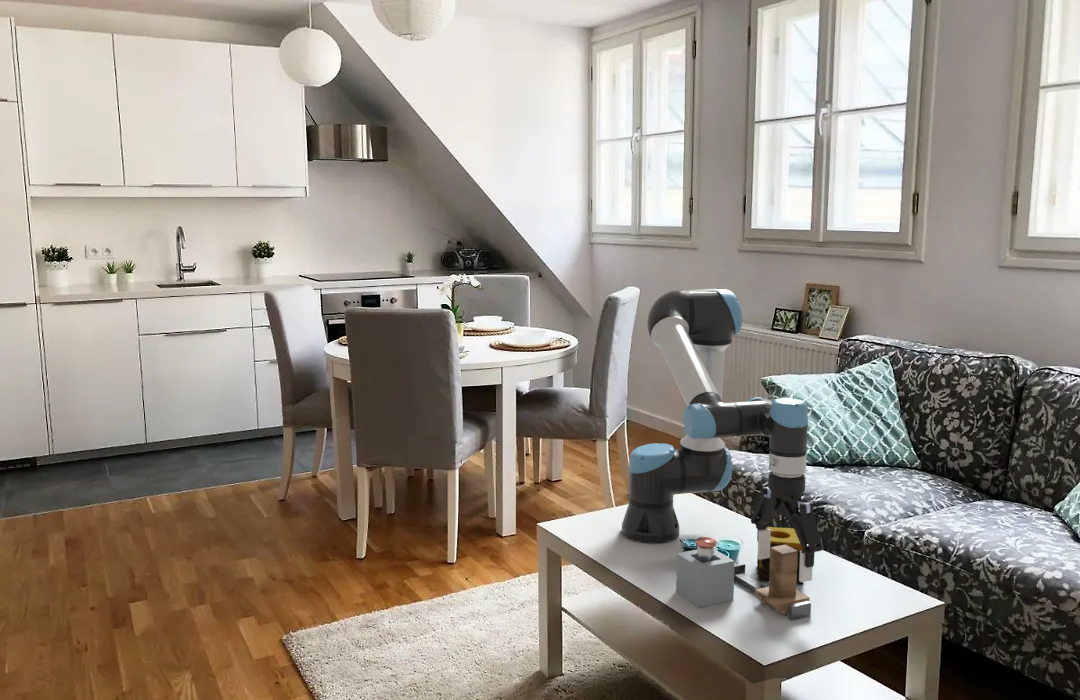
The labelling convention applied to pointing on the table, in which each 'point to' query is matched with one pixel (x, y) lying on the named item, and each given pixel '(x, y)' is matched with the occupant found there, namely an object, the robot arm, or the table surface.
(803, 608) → the rail
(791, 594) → the carriage
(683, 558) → the housing
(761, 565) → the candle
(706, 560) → the plunger
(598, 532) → the table surface
